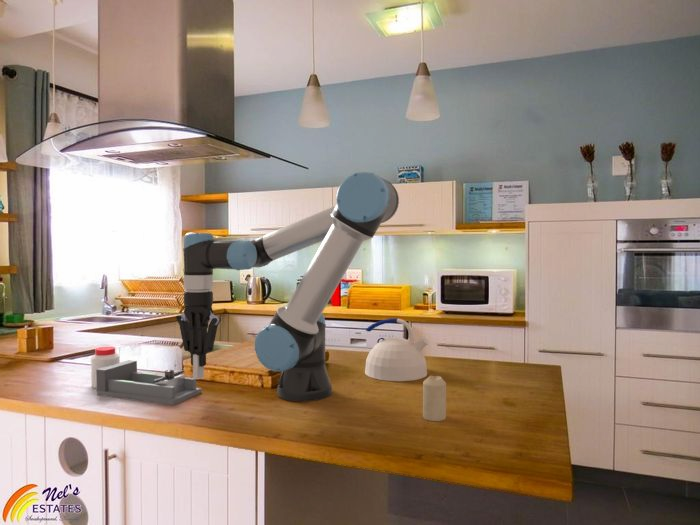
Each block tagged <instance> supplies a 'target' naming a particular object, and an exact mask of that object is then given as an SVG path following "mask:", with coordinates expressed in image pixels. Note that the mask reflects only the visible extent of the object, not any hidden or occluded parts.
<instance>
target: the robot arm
mask: <svg viewBox="0 0 700 525" xmlns="http://www.w3.org/2000/svg"><path fill="white" fill-rule="evenodd" d="M335 198H336V203H335V205H333V206H331V207H329V208H326V209H324V210H322V211H319V212H317V213H314V214H312V215H310V216H307V217H305V218H302V219H301V220H298V221H295V222H294V223H290V224H289V225H286V226H284V227H281V228H279V229H277V230H274V231H272V232H269V233H267V234H265V235H263V236H259V237H258V238H255V239H251V240H239V239H238V240H215V239H214V236H213V233H210V232H187V233H186V234H184V237H183V248H182V250H183V289H184V290H185V291H184V292H183V306H185V307H184V309H183V313H181V314H179V315H176V317H175V319H176V321H177V323H178V325H179V331H180V334H181V339H182V345H183V349H184V351H185V352H189V354H190V366H192V378H193V379H196V380H200V379H202V378H204V377H205V366H206V364H207V354H208V353H210V352H213V350H214V347H215V346H214V344H215V341H216V336H217V330H218V326H219V324H220V323H221V321H222V318H221V317H220V316H216V315H215V314H214V311H213V307H212V306H213V304H214V292H213V291H212V290H213V289H214V288H213V286H214V278H213V277H214V270H219V269H220V270H236V271H244V270H251V269H252V268H262V267H265V266H268V265H269V264H270V263H271V262H273V261H275V260H278V259H281V258H283V257H285V256H288V255H290V254H293V253H295V252H298V251H301V250H303V249H305V248H309V247H310V246H313V245H315V244H319V243H320V245H319V247H318V249H317V251H316V253H315V254H314V256H313V258H312V259H311V261H310V263H309V265H308V267H307V269H306V271H305V272H304V274H303V276H302V278H301V280H300V282H299V283H298V285H297V286H296V289H295V290H294V292H293V294H292V296H291V297H290V299H289V300H288V303H287V304H286V305H285V306H280V307H278V308H277V310H276V312H275V314H274V315H273V317H272V319H271V320H270V322H269V324H268V325H266V326H264V327H263V328H261V330H260V331H258V333H257V334H256V336H255V338H254V351H255V354H256V358H257V359H258V361H259V362H260V364H261V365H262V366H264V367H265V368H267V369H268V370H270V371H273V372H281V374H280V378H279V381H278V385H277V388H276V391H277V396H278V397H279V398H280V399H282V400H286V401H290V402H291V401H292V402H313V401H319V400H323V399H327V398H328V397H330V396H331V395H332V393H333V392H332V389H333V388H332V382H331V379H330V377H329V373H328V370H327V367H326V327H327V325H326V320H325V319H326V317H325V315H324V314H323V313H324V311H325V308H326V307H327V305H328V303H329V301H330V300H331V298H332V297H333V295H334V294H335V291H336V289H337V287H338V286H339V284H340V283H341V281H342V279H343V278H344V275H345V274H346V272H347V271H348V268H349V267H350V265H351V263H352V262H353V260H354V258H355V257H356V255H357V253H358V251H359V249H360V248H361V246H362V244H363V242H364V241H367V240H370V239H373V237H374V236H375V234H376V233H377V231H378V229H379V228H380V226H381V224H383V223H386V222H387V221H389V220H391V218H393V217H394V216H395V215H396V212H397V211H398V208H399V204H400V198H399V193H398V191H397V189H396V187H395V186H394V184H392V182H390V181H389V180H387V179H385V178H383V177H381V176H380V175H379V174H375V173H373V172H369V171H368V172H365V171H360V172H359V171H358V172H355V173H353V174H350V175H348V176H347V177H346V178H345V179H344V180H342V182H341V183H340V185H339V186H338V189H337V191H336V197H335Z"/></svg>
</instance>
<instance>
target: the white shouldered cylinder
mask: <svg viewBox="0 0 700 525" xmlns="http://www.w3.org/2000/svg"><path fill="white" fill-rule="evenodd" d="M422 418H423V419H424V420H426V421H429V422H430V421H431V422H441V421H442V422H443V421H445V420H446V419H447V382H446V381H445V380H444V379H443V377H442V376H440V375H435V376H433V375H429V376H428V377H427V378H425V379H424V380H423V382H422Z"/></svg>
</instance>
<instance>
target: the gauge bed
mask: <svg viewBox="0 0 700 525" xmlns="http://www.w3.org/2000/svg"><path fill="white" fill-rule="evenodd" d="M137 361H138V360H129V359H128V360H125V361H122V362H121V361H120V363H117V364H114V365H110V366H107V367H103V368H100V369H96V374H97V388H96V396H102V397H109V398H116V399H125V400H131V401H132V400H133V401H138V400H139V402H146V401H148V402H147V403H153V402H155V403H154V404H161V403H162V405H163V404H164V405H169V406H174V405H176V404H179V403H181V402H184V401H186V400H188V399H190V398H192V397H195V396H197V395H199V394H202V388H201V387H197V379H193V377H187V376H186V377H185V376H184V389H183V390H180V391H178V392H175V387H174V386H166V385H157V384H155V383H154V380H156V379H158V378H161V377H164V376H165V374H159V373H153V372H152V373H151V372H145V371H144V372H141V371H139V372H138V364H137V363H138V362H137Z"/></svg>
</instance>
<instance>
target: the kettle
mask: <svg viewBox="0 0 700 525" xmlns="http://www.w3.org/2000/svg"><path fill="white" fill-rule="evenodd" d="M389 323H399V324H401V325H403V326H404V327H405V328H406V329H407V331H408V338H407V339H406V338H404V337H396V336H394V337H388V338H384V337H380V338H378V339H377V342H376V344H375V345H374V346H373V347H372V348H371V350H370V351H369V352H368V355H367V357H366V359H365V370H364V373H365V375H366V376H368V377H369V378H371V379H375V380H379V381H385V382H410V381H413V382H414V381H417V380H421V379H423V378H425V377H427V376H428V370H427V369H428V368H427V360H426V357H425V355H424V353H423V352H422V350H423V349H424V348H425V347H427V346H428V345H429V341H428V340H427V339H426V337H424V336H420V337H419V338H418V339H417V340H416V341H414V340H415V333H414V329H413V326H411V325H410V323H408V322H407V320H405V319H401V318H388V319H386V318H385V319H382V320H379V321H376V322H374V323H373V324H371V325H369V326H368V327H367V328H366V329H365V331H366V332H371V331H372V330H374V329H375V328H377V327H379V326H382V325H385V324H389Z"/></svg>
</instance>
